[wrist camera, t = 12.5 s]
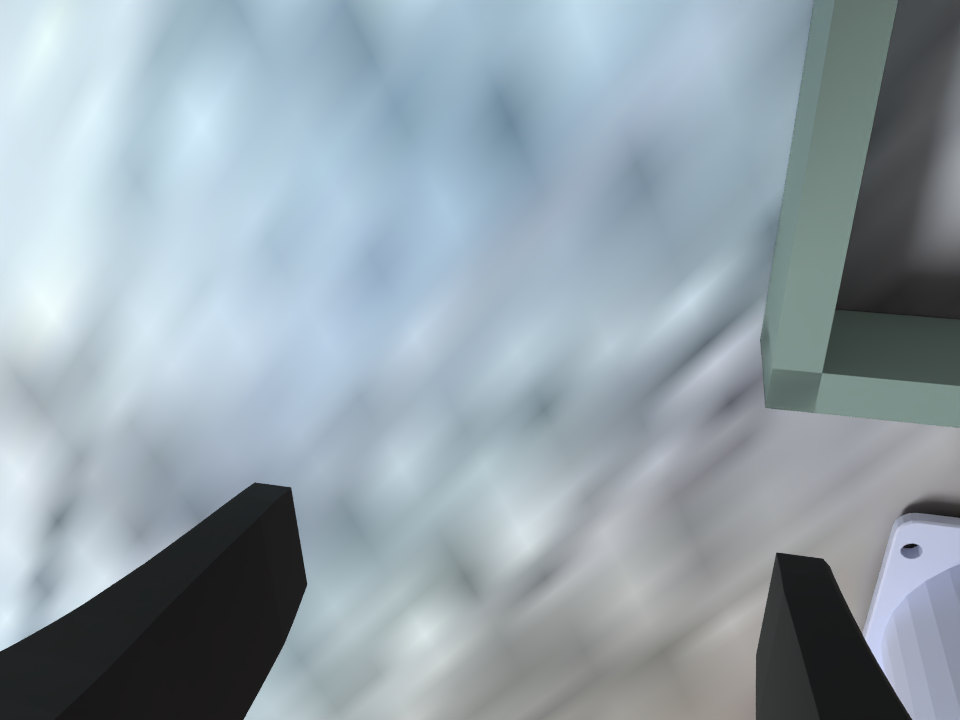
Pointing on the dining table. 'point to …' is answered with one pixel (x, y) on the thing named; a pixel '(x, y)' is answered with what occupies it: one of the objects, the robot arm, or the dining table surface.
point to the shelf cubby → (844, 250)
